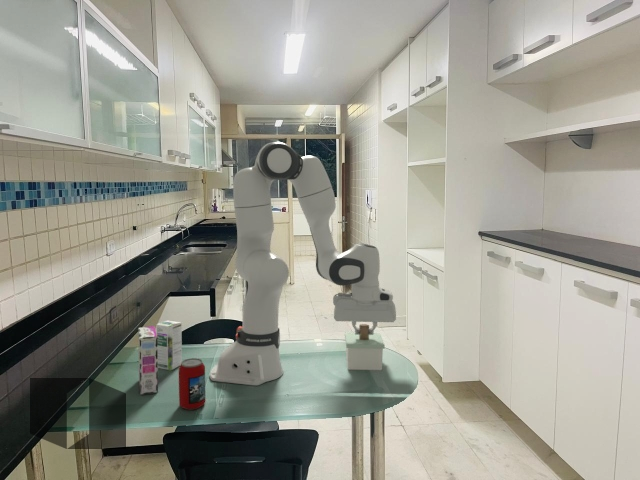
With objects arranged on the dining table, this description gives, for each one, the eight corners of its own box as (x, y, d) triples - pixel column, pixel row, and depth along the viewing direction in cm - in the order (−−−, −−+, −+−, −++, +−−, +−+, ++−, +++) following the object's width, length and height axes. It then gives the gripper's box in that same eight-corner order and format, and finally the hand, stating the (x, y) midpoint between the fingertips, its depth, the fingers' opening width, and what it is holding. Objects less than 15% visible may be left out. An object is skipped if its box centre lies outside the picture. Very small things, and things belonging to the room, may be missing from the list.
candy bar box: (159, 392, 129) (157, 336, 127) (140, 395, 127) (138, 338, 125) (156, 377, 139) (155, 325, 137) (138, 380, 137) (137, 327, 135)
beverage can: (198, 412, 118) (197, 368, 116) (174, 409, 119) (173, 365, 118) (209, 400, 124) (209, 358, 123) (187, 398, 126) (186, 356, 124)
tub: (347, 371, 145) (348, 347, 145) (346, 358, 156) (346, 336, 155) (382, 372, 145) (382, 348, 144) (378, 359, 156) (378, 336, 155)
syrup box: (156, 368, 146) (155, 324, 144) (168, 361, 151) (167, 319, 150) (170, 371, 144) (169, 326, 142) (182, 364, 149) (182, 321, 148)
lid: (346, 351, 144) (346, 330, 143) (344, 339, 156) (345, 319, 155) (384, 352, 144) (385, 331, 143) (379, 339, 156) (380, 320, 155)
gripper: (333, 294, 145) (332, 336, 147) (397, 295, 145) (396, 338, 146) (333, 290, 151) (332, 330, 153) (394, 291, 151) (393, 331, 153)
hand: (364, 334), depth 150 cm, fingers closed on lid, 3 cm apart
